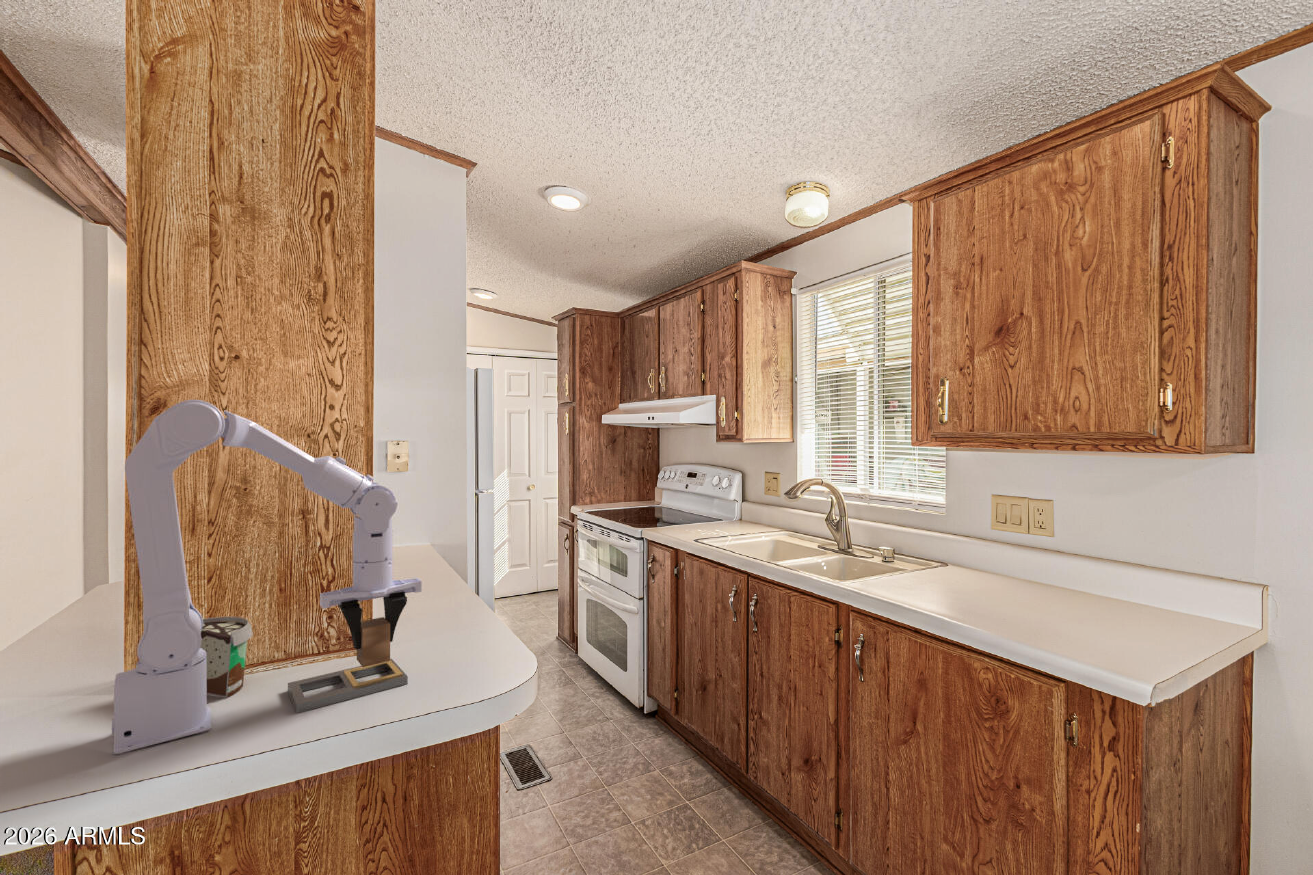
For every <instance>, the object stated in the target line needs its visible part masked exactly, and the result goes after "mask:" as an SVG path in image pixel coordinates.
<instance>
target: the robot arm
mask: <svg viewBox="0 0 1313 875" xmlns="http://www.w3.org/2000/svg"><path fill="white" fill-rule="evenodd" d="M223 414H224V415H223ZM224 416H226V418H225V417H224ZM220 438H224V439H223V441H222V446H224V447H231V448H244V449H245V448H246V449H250V450H251V451H254V452H255V453H258V454H260V455H261V456H263V457H265V458H266V459H269V460H271V461H273V462H276V463H277V464H279V465H280V466H283V467H285V468H287V469H289V470H290V471H292V472H295V473H297V474H298V475H300V476H301V477H302V483H303V486H304V488H305V489H307V490H308V491H310V492H312V493H314V494H316V495H317V496H320V497H321V498H323V499H325V500H327V501H329V502H331V503H333V504H335V505H337V506H338V507H340V508H342V509H348V508H349V510H350V512H351V513H352V514H353V515H354V516H353V531H352V586H351V585H350V586H348V587H343V588H340V589H336V590H330V591H327V592H321V593H319V606H320V607H321V609H322V610H323V609H330V608H331V607H334V606H338V607H339V609H340V611H341V613H342V615H343V617H344V619H345V621H346V623H347V625H348V628H349V631H350V635H351V639H352V645H353V647H354V649H355V650H357V649H361V621H362V615H363V609H362V607H360V606H361V603H360V602H362V601H363V602H364V601H368V600H373V599H380V598H383V599H382V600H383V608H384V618H385V619H386V620H387V621H388V622H389V623H390V643H392V642H394V641H393V640H394V636H395V635H394V634H395V631H396V627H397V625H398V621H399V619H400V617H401V615H402V612H403V610H404V609H405V606H406V605H407V602H408V597H407V596H406V594H410V593H415V594H417V593H422V591H423V590H422V589H423V585H422V583H423V582H422V581H423V580H422V579H420V578H417V577H415V578H409V579H397V580H395V579H394V578H393V577H394V575H393V573H394V572H393V571H394V570H393V565H394V564H393V563H394V560H393V559H394V558H393V557H394V556H393V555H394V554H393V553H394V551H393V549H394V548H393V547H394V546H393V544H394V539H393V538H394V537H393V535H394V534H393V532H394V531H393V530H394V529H393V524H392V523H393V516H394V515H395V513H396V512H397V508H398V502H397V501H396V498H395V495H394V493H393V492H392V491H391V490H390V489H389V488H387V487H386V486H383V485H381V484H379V483H377V482H375V481H374V479H375V478H374V477H373V476H371V475H370V474H366V475H364V474H362V473H361V472H358V471H357V470H355V469H353V468H351V467H349V466H347V465H346V463H347V460H345V459H344V458H342V457H340V456H337V457H336V458H334V457H333V456H331V455H325V456H320V457H313V456H311V455H310V454H309V453H306V452H305V451H303V450H302V449H300V448H298V447H297V446H295V445H293V444H291V443H290V442H289V441H287V440H285V439H284V438H282V437H280V436H278V435H276V434H274V433H273V432H272V431H270V430H268V429H266V428H265V427H263V426H262V425H260V424H258V423H257V422H254V421H253V420H250V419H248V418H245V417H243V416H240V415H238V414H236V413H233V412H230V411H228V410H223V413H222V412H221V411H220V410H219V408H218V407H216V406H215V405H214V404H212V403H210V402H207V401H205V400H202V399H201V400H200V399H188V400H187V399H185V400H183V401H180V402H177V403H174V405H172V406H170V407H169V408H167V409H166V410H164V411H163V412H161V413H160V414H159V415H157V416H156V417H154V418H153V420H152V422H151V423H150V425H149V426H148V428H147V430H146V431H145V432H144V434H143V435H142V436H141V438H140V439H139V441H138V443H137V444H136V445H135V447H134V448H133V449H132V451H131V452H130V454H129V455H128V456H127V457H126V459H125V462H124V473H125V479H126V485H127V493H128V499H129V500H128V501H129V505H130V508H129V509H130V515H131V522H132V527H133V528H132V529H133V534H134V535H133V536H134V542H135V549H136V557H137V563H138V570H139V577H140V584H141V591H142V601H143V602H142V603H143V605H142V621H143V632H142V636H141V638H140V639H139V642H138V645H137V649H136V654H137V658H138V661H137V663H136V665H135V667H134V668H133V669H130V670H126V671H122V672H118V673H116V674H115V677H114V692H113V718H112V719H111V734H113V754H114V755H118V754H123V753H126V752H130V751H131V752H132V751H134V750H138V749H142V748H145V747H146V748H147V747H149V746H153V745H156V744H162V743H164V742H165V743H166V742H168V741H172V740H177V739H181V738H184V737H188V736H191V735H196V734H199V733H204V732H207V731H210V730H211V729H212V719H211V709H210V705H208V704H207V703H208V702H207V698H208V695H207V657H206V655H207V653H206V651H205V650H203V649H201V648H200V647H201V641H202V638H201V631H202V627H203V619H204V618H203V617H202V614H201V612H200V611H199V610H198V609H197V608H196V607H195V606H194V604H193V601H192V595H191V591H190V586H189V584H188V583H189V582H188V577H187V569H186V568H187V567H186V561H185V554H184V553H185V552H184V547H183V546H184V545H183V539H182V532H181V531H182V530H181V525H180V524H181V523H180V517H179V510H178V509H179V508H178V502H177V494H176V489H175V487H176V486H175V479H174V472H175V470H176V469H177V468H179V467H180V466H181V465H182V464H183V463H184V462H185V461H186V460H187V459H188V458H190V457H191V455H193V454H195V453H196V452H198V451H200V450H203V449H205V448H207V447H208V446H210V445H212V444H215V443H216V442H217V441H218V440H219V439H220Z"/></svg>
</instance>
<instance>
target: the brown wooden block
mask: <svg viewBox="0 0 1313 875" xmlns="http://www.w3.org/2000/svg"><path fill="white" fill-rule="evenodd" d="M390 659H391V642H390V623H389V622H388V621H387V620H386V619H385V616H382V617H376V618H371V619H366V620H361V649H356V661H357V662H358V663H359V665H360V666H362V667H367V666H371V665H375V664H379V663H383V662H387V661H390Z"/></svg>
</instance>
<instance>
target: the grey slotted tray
mask: <svg viewBox="0 0 1313 875" xmlns="http://www.w3.org/2000/svg"><path fill="white" fill-rule="evenodd" d="M383 672H387V673H388V675H385V676H381V677H377V678H372V679H369V680H365V681H361V682H358V681H357V679H360V678H363V677H367V676H371V675H376V674H379V673H383ZM408 678H409V676H408V675H407V674H406V673H405V671H403V669H401V667H400V666H399V665H398V664H397V663H396V662H395V661H394V659H393V658H390V661H387V662H383V663H379V664H375V665H371V666H367V667H362V666H361V665H358V666H354V667H350V668H346V669H342V670H337V671H333V672H330V673H325V674H324V673H323V674H321V675H316V676H312V677H308V678H303V679H300V680H295V681H290V682H287V692H288V695H289V697H290V700H291V702H292V704H293V707H294V710H295V713H296V714H299V713H303V712H307V711H310V710H314V709H317V708H321V707H325V706H329V705H334V704H337V703H340V702H344V701H347V700H348V701H349V700H352V699H356V698H359V697H364V696H367V695H370V694H373V693H378V692H382V691H385V690H389V689H393V688H397V687H401V686H405V685H408V683H409V682H408ZM335 684H339V685H340V686H341V687H342V688H339V689H333V690H331V691H330V690H329V691H326V692H322V693H319V694H315V695H311V696H307V697H305V695H304V693H303V692H306V691H311V690H315V689H319V688H323V687H328V686H331V685H335Z"/></svg>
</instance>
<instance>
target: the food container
mask: <svg viewBox="0 0 1313 875" xmlns="http://www.w3.org/2000/svg"><path fill="white" fill-rule="evenodd" d="M253 633H254V632H253V629H252V625H251V623H249V620H248V619H247V618H245V617H241V616H215V617H208V618H207V617H206V618H203V627H202V631H201V638H202V641H201V647H200V648H201V649H203V650H205V651H206V653H207V655H206V657H207V696H211V697H217V698H221V699H223V698H224V699H228V698H230V697H232V696H234V695H235V694H237V693H238V692H240V691H241V690H242V688H244V679H245V678H244V677H245V671H246V670H245V669H246V659H247V658H246V657H247V656H246V655H247V648H248V647H247V646H248V641H249V640H250V639H251V638H252V637H253Z"/></svg>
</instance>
